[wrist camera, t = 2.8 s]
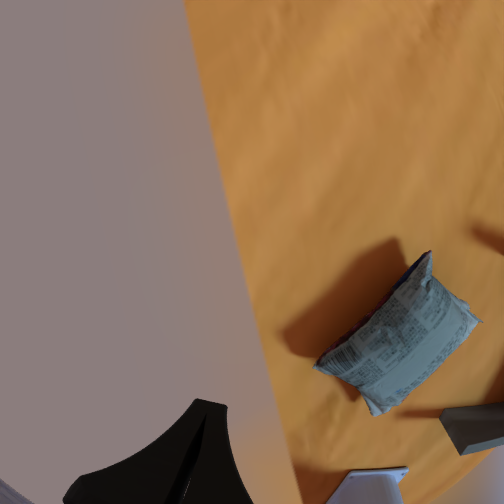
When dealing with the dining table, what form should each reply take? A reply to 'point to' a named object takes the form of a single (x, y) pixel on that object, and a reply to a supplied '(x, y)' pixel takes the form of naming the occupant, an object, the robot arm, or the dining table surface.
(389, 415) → the dining table surface
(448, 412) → the grey u-shaped bracket
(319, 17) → the dining table surface
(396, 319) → the packaged food
